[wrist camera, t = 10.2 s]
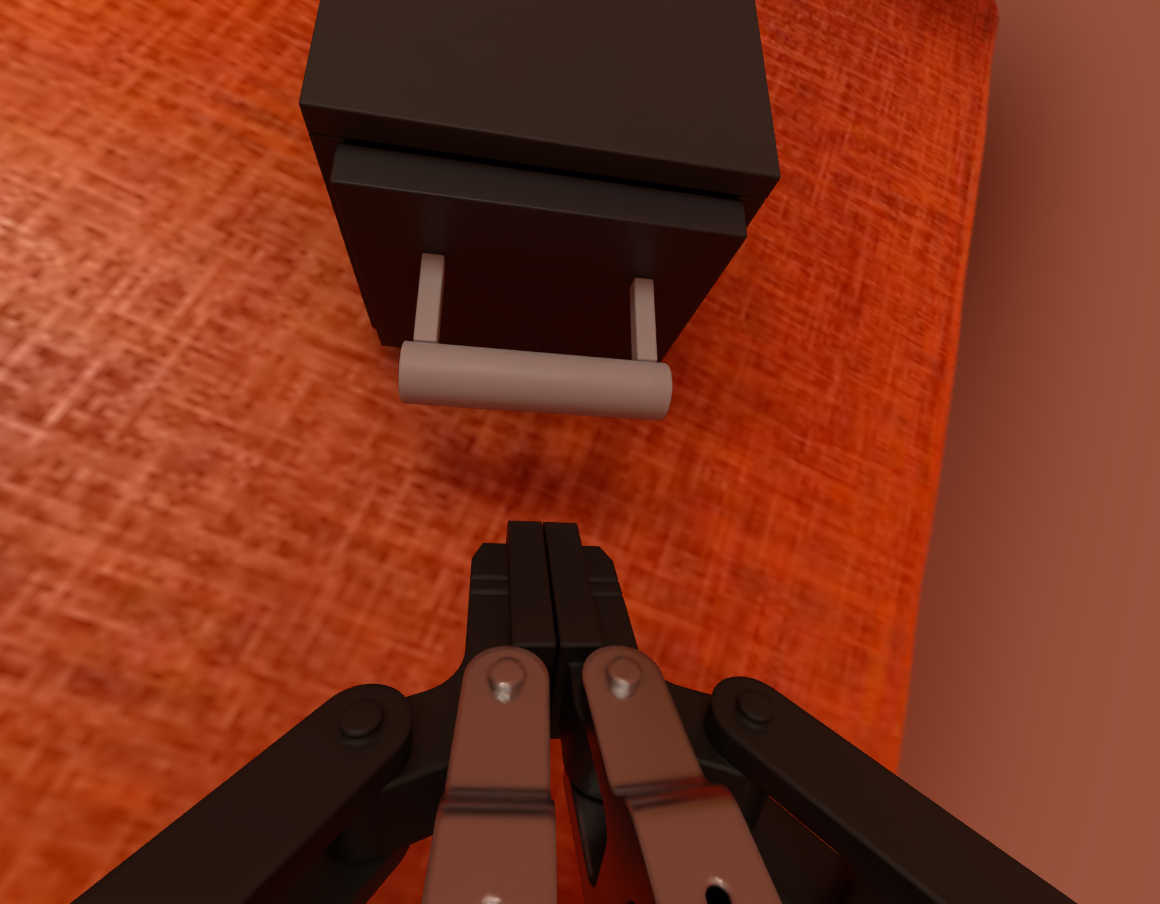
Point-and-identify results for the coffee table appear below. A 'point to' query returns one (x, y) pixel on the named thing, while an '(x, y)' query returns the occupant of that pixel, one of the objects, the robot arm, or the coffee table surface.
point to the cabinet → (550, 88)
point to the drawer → (529, 277)
